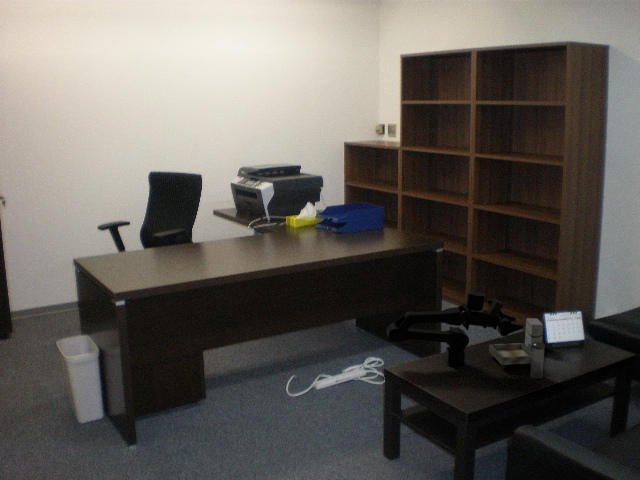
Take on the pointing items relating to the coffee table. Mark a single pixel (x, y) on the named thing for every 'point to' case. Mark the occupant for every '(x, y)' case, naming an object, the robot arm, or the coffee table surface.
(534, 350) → the metal canister
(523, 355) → the shallow grey tray
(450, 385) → the coffee table surface
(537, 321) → the ink box
